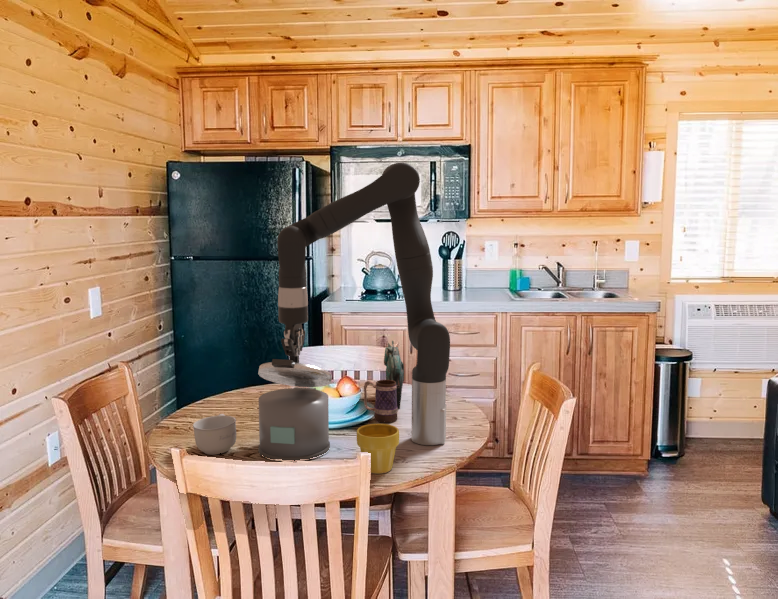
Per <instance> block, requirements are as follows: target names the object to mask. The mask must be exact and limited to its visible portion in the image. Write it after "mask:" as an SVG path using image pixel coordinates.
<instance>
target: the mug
mask: <svg viewBox="0 0 778 599" xmlns="http://www.w3.org/2000/svg"><path fill="white" fill-rule="evenodd" d="M370 385H371V386H372V388H374V389H375V396H374V397H375V398H374V399H375V400H374V407H369V406H368V398H367V397H368V394H367V388H368V386H370ZM396 388H397V385H396V382H395V381H393V380H386V379H380V380H376V382H375V383H374V382H373V381H371V380H367V381H365V382H364V384H363V393H364V395H363V396H364V397H363V398H364V399H363V400H364V401H363V402H364V408H365V409H366V410H368V411H371V412H374V416H373V417H374V421H376V422H377V421H378V423H381V422H382V423H381V424H391V423H395V422H396V421H398V410H399V409H398V407H397V392H396ZM390 422H391V423H390Z"/></svg>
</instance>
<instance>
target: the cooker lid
mask: <svg viewBox="0 0 778 599" xmlns="http://www.w3.org/2000/svg"><path fill="white" fill-rule="evenodd" d="M258 367H259V368H258V373H257V374H258V375H259V377H260V378H261V379H264V380H266V381H269V382H270V383H271V382H272V383H276V384H280V385H284V386H291V387H300V388H320V387H326V386H329V385H330V384H331V383H332V378H333V376H332V373H331V372H329V371H328V370H326V369H323V368H321V367H318V366H315V365H310V364H306V363H301V362H299V363H295V362H294V361H293V360H289V359H279V358H272V360H271V361H270V362H264V363H262V364H260V365H259V366H258Z"/></svg>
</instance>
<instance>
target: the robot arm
mask: <svg viewBox="0 0 778 599" xmlns="http://www.w3.org/2000/svg"><path fill="white" fill-rule="evenodd" d="M420 180H421V176H420V174H419V172H418V170H417V169H416V168H415V166H413V165H411V164H409V163H407V162H396V163H393V164H390V165H388V166H387V167H386V168H385V169H384V170H383V171H382V174H381V175H380V176H379V177H377V178H376V179H375V180H374V181H372V182H371V183H368V184H367V185H366V186H364V187H362V188H360V189H359V190H356V191H354V192H352V193H349V194H348V195H345V196H343V197H341V198H339V199H336V200H334V201H332V202H330V203H328V204H326V205H325V206H323V207H321V208H319V209H317V210H315V211H314V212H312V213H311V214H310V215H308V216H307V217H304V218H302V219H300V220H298V221H296V222H294V223H292V224H290V225H288V226H285V227H284V228H282V230H281V231H280V232H279V234H278V236H277V254H278V263H279V265H278V292H277V293H278V295H277V296H278V297H277V300H278V301H277V302H278V303H277V304H278V307H277V308H278V312H277V313H278V322H279V323H280V324H284V325H285V326H284V331H283V336H284V338H281V339H280V340H281V341H280V342H281V346H282V348H283V351H284V354H285V356H288V360H293V361H294V362H295V363H300V355H301V352H302V351H303V348H304V344H305V343H304V342H305V339H306V338H305V336H306V330H304V329H303V325H302V324H306V323H308V321H309V306H308V305H309V301H308V299H309V298H308V297H309V296H308V289H307V288H308V287H307V285H308V284H307V268H306V255H307V254H306V249H307V247H308V246H310V245H312V244H314V243H316V241H318V240H320V239H325V238H327V237H329V236H331V235H333V234H335V233H336V232H338V231H340V230H342V229H344V228H346V227H347V226H349V225H351V224H353V223H354V222H356V221H358V220H359V219H361V218H362V217H364V216H367V215H368V214H369V213H371V212H373V211H375V210H378V209H379V208H382V207H384V206H387V209H388V212H389V217H390V222H391V233H392V241H393V242H392V243H393V249H394V254H395V255H394V256H395V261H396V266H397V271H398V276H399V280H400V285H401V290H402V295H403V298H404V303H405V304H404V305H405V309H406V320H407V321H406V322H407V333H408V334H407V335H408V339H409V342H410V345H412V347H413V348H414V350H416V351H417V352H416V364H415V366H414V367H413V368H412V370H411V434H410V435H411V441H412V442H413V443H415V444H418V445H421V446H437V445H444V444H445V442H446V437H447V404H446V402H447V396H446V395H447V394H446V391H447V373H448V371H449V366H450V356H451V355H450V353H451V352H450V351H451V335H450V333H449V329H448V328H447V327H446V326H445V325H444V324H442V323H441V322H438V321H437V320H436V317H435V312H434V310H433V304H432V297H431V294H432V285H433V277H434V270H433V268H434V266H433V261H432V254H431V249H430V245H429V242H428V239H427V236H426V234H425V230H424V229H423V226H422V223H421V221H420V218H419V214H418V209H417V202H416V192H417V190H418V189H419V187H420V182H421V181H420Z"/></svg>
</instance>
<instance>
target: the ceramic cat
mask: <svg viewBox="0 0 778 599" xmlns="http://www.w3.org/2000/svg"><path fill="white" fill-rule="evenodd" d="M394 344H395V342H394V340H391V344H390V343H389V342H387V346H386V347H385V350H384V358H383V365H384V366H385V367H386V368H385V380H393V381H395V382H396V385H397V388H396V392H397V407H398V410H400V409H401V403H402V402H401V401H402V394H403V393H402V392H403V385H404V381H405V379H404V378H405V367H404V364H405V363H403V361H402V358H401V355H400V351H399V347H398V346H394Z"/></svg>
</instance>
